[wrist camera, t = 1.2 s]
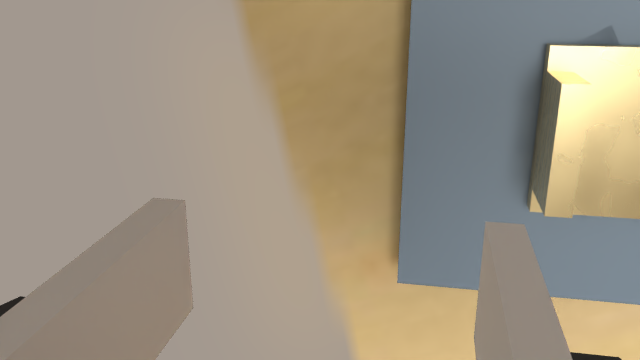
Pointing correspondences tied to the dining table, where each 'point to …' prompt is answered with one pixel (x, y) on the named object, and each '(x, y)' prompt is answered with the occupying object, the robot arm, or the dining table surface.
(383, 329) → the dining table surface
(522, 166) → the grey flat board
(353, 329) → the dining table surface
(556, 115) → the brass cover
